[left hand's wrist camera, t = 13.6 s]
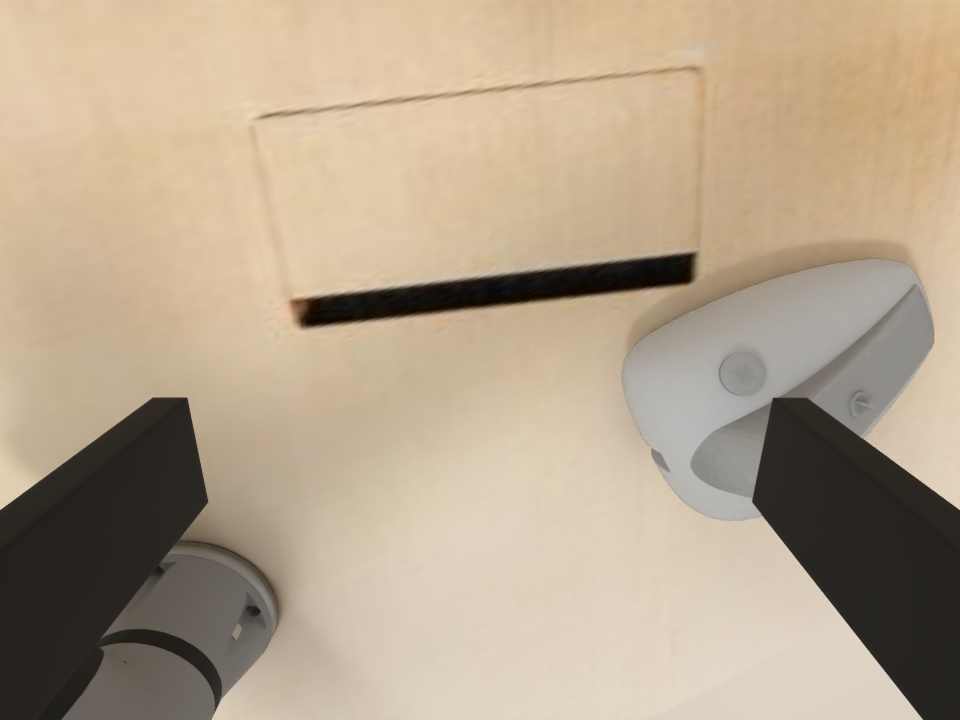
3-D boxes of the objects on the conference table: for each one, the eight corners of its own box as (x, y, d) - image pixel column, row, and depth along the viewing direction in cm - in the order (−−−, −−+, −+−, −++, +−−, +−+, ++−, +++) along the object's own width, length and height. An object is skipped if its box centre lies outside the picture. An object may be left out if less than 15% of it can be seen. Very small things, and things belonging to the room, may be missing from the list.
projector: (817, 504, 51) (943, 634, 37) (577, 457, 49) (615, 575, 35) (937, 270, 43) (1151, 323, 29) (658, 204, 41) (747, 228, 28)
